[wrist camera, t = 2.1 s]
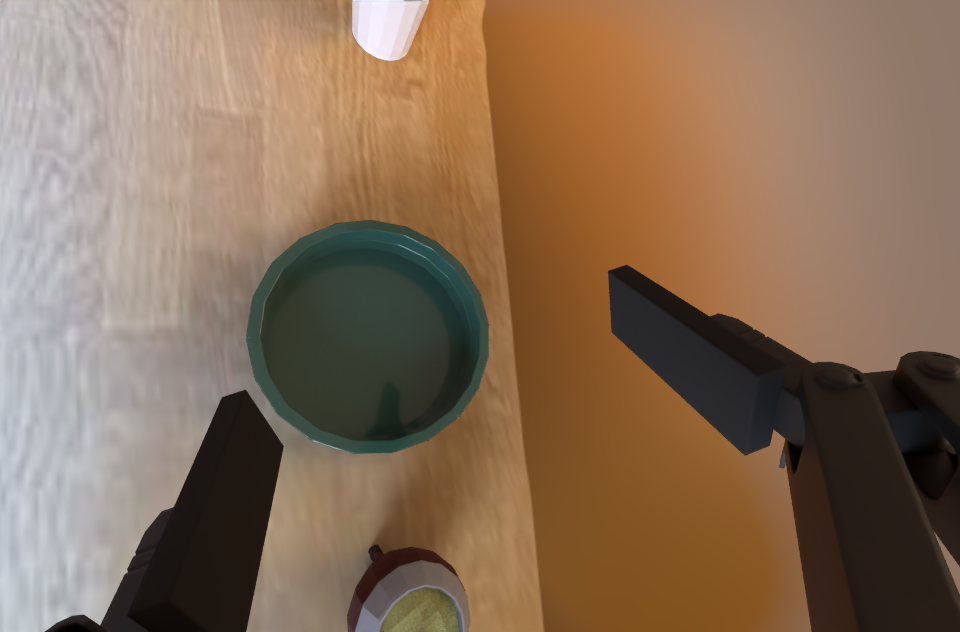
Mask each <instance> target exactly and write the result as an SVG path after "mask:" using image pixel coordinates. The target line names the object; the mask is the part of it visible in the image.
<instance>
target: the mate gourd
mask: <svg viewBox="0 0 960 632" xmlns="http://www.w3.org/2000/svg"><path fill="white" fill-rule="evenodd" d="M368 552H369V554H370V557H371V559H372V561H373V563H372V564H371V565H370V566H369V568H368V569H367V571H366V572H365V574H364V575H363V577H362V579H361V580H360V582H359V583H358V585H357V587H356V589H355V592H354V595H353V598H352V602H351V605H350V608H349V611H348V615H347V623H348V632H468V631H469V626H470V614H469V604H468V597H467V595H466V592H465V589H464V587H463V585H462V583H461V581H460V579H459V577H458V575H457V573H456V571H455V570H454V568H453V567H452V566H451V565H450V564H449V563H448V562H446V561H445V560H444V559H443V558H441V557H440V556H439V555H437V554H436V553H435V552H433V551H430V550H425V549H420V548H414V547H409V548H403V549H398V550H393V551H390V552H387V553H385V554H383V552H382V550H381V549H380V547H379V545H374V546H373V547H372V548H370V549H369V551H368Z"/></svg>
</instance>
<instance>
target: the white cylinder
mask: <svg viewBox="0 0 960 632" xmlns="http://www.w3.org/2000/svg"><path fill="white" fill-rule="evenodd" d="M429 1H430V0H352V33H353V35H354V37H355V39H356V41H357V43H358V44H359V45H360V46H361V47H362V48H363V49H364V50H365V51H366V52H367V53H369V54H371V55H372V56H374V57H376V58H378V59H382V60H387V61H394V60H400V59H401V58H403V57H404V56H406V55H407V53H408V51H409V49H410V47H411V44H412V42H413V39H414V37H415V35H416V32H417V30H418V27H419V25H420V23H421V20H422V18H423V16H424V13H425V11H426V8H427V6H428V4H429Z"/></svg>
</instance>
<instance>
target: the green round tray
mask: <svg viewBox="0 0 960 632" xmlns="http://www.w3.org/2000/svg"><path fill="white" fill-rule="evenodd" d="M246 337H247V338H246V341H247V345H248V350H249V355H250V360H251V364H252V369H253V374H254V378H255V380H256V382H257V383H258V385H259V386H260V388H261V390H262V391H263V393H264V394H265V396H266V397H267V399H268V400H269V402H270V404H271V405H272V407H273V408H274V410H275V411H276V413H277V414H278V415H279V416H280V417H281V418H283V419H284V420H285V421H287V422H288V423H289V424H291V425H292V426H293V427H294V428H296V429H297V430H298V431H300V432H301V433H302V434H304V435H305V436H306V437H308V438H309V439H310V440H312V441H314V442H317V443H321V444H324V445H327V446H330V447H333V448H336V449H339V450H342V451H345V452H348V453H352V454H362V453H394V452H397V451H400V450H403V449H406V448H409V447H411V446H414V445H417V444H420V443H423V442H426V441H429V440H430V439H432V438H433V437H434V436H435V435H437V434H438V433H439V432H441V431H442V430H443V429H445V428H446V427H447V426H449V425H450V424H451V423H452V422H454V421H455V420H456V419H458V417H460V415H461V414H462V412H463V411H464V409H465V408H466V406H467V405H468V404H469V402H470V401H471V399H472V398H473V396H474V395H475V393H476V392H477V391H478V389H479V386H480V383H481V380H482V377H483V374H484V370H485V367H486V364H487V361H488V356H489V324H488V319H487V316H486V313H485V309H484V306H483V302H482V299H481V296H480V293H479V290H478V289H477V287H476V286H475V284H474V282H473V281H472V279H471V278H470V276H469V274H468V273H467V271H466V270H465V268H464V267H463V265H462V264H461V263H460V262H459V261H458V260H457V259H456V258H455V257H453V256H452V255H451V254H450V253H449V252H448V251H447V250H446V249H445V248H443V247H442V246H441V245H440V244H439V243H438V242H436V241H434V240H432V239H430V238H428V237H426V236H424V235H422V234H420V233H418V232H416V231H414V230H412V229H410V228H408V227H405V226H400V225H395V224H389V223H384V222H379V221H374V220H366V221H356V222H345V223H336V224H333V225H331V226H329V227H326V228H324V229H321V230H319V231H317V232H314V233H312V234H309V235H307V236H305V237H302V238H300V239H299V240H298V241H297V242H295V243H294V244H293V245H292V246H291V247H290V248H289V249H287V250H286V251H285V252H284V253H283V254H282V255H280V256H279V257H278V258H277V259H276V260H275V261H274V262H272V264H271V265H270V267H269V269H268V271H267V272H266V274H265V276H264V278H263V279H262V281H261V283H260V285H259V287H258V288H257V290H256V292H255V294H254V295H253V299H252V303H251V309H250V315H249V322H248V328H247V334H246Z"/></svg>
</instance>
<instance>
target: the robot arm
mask: <svg viewBox="0 0 960 632" xmlns="http://www.w3.org/2000/svg"><path fill="white" fill-rule="evenodd" d="M608 276H609V294H610V311H611V328H612V333H613V334H614V335H615V336H616V337H617V338H619V339H620V340H621V341H622V342H623V343H624V344H625V345H626V346H627V347H628V348H630V350H632V351H633V352H634V353H635V354H636V355H637V356H638V357H639V358H640V359H641V360H642V361H643V362H644V363H645V364H647V365H648V366H649V367H650V368H651V369H652V370H653V371H654V372H655V373H656V374H658V376H660V377H661V378H662V379H663V380H664V381H665V382H666V383H667V384H668V385H669V386H670V387H672V389H674V390H675V391H676V392H677V393H678V394H679V395H680V396H681V397H682V398H683V399H684V400H686V402H687V403H689V404H690V405H691V406H692V407H693V408H694V409H695V410H696V411H697V412H698V413H699V414H700V415H702V416H703V417H704V418H705V419H706V420H707V421H708V422H709V423H710V424H711V425H712V426H713V427H714V428H716V429H717V430H718V431H719V432H720V433H721V434H722V435H723V436H724V437H725V438H726V439H727V440H728V441H730V442H731V443H732V444H733V445H734V446H735V447H736V448H737V449H738V450H739V451H740V452H741V453H743V454H744V455H748V454H750V453H753V452H755V451H758V450H760V449H762V448H765V447H767V446H769V445H770V442H771V438H772V433H773V429H774V430H775V431H776V432H778V433H779V434H780V435H782V436H783V437H784V438H785V443H784V447H783V451H782V455H781V460H780V465H779V467H780V468H784V467H785V463H786V466H787V473H788V479H789V486H790V492H791V499H792V506H793V512H794V518H795V525H796V532H797V538H798V545H799V551H800V558H801V564H802V571H803V578H804V584H805V590H806V597H807V604H808V610H809V617H810V623H811V630H812V632H960V594H959V592H958V589H957V587H956V585H955V583H954V580H953V578H952V575H951V573H950V571H949V568H948V565H947V563H946V560H945V558H944V556H943V554H942V551H941V548H940V546H939V543H938V541H937V539H936V536H935V534H934V532H935V533H936V534H937V536H938V537H939V539H940V540H941V541H942V543H943V544H944V545H945V547H946V548H947V550H948V551H949V552H950V554H951V555H952V556H953V558H954V559H955V561H956V562H957V564H958V565H959V566H960V359H959V358H956V357H954V356H951V355H946V354H941V353H937V352H925V351H919V352H912V353H907V354H906V355H904V356H902V357H901V359H900V361H899V364H898V366H897V369H896V370H893V371H882V372H872V373H862V372H860V371H858V370H857V369H855V368H852V367H849V366H846V365H844V364H839V363H833V362H817V363H812V362H810V361H808V360H806V359H805V358H803V357H801V356H800V355H798V354H796V353H794V352H793V351H791V350H790V349H787V348H786V347H784V346H783V345H781V344H779V343H778V342H776V341H774V340H773V339H771V338H769V337H765V335H764V334H762V333H761V332H759V331H757V330H753V328H752V327H750V326H749V325H747V324H745V323H744V322H742V321H740V320H738V319H736V318H733V317H729V316H726V315H723V314H716V315H713V316H708V315H706V314H705V313H703V312H701V311H700V310H698V309H697V308H695V307H693V306H692V305H690V304H689V303H687V302H686V301H684V300H682V299H681V298H679V297H678V296H676V295H674V294H673V293H671V292H670V291H668V290H666V289H665V288H663V287H662V286H660V285H658V284H657V283H655V282H653V281H652V280H650V279H649V278H647V277H646V276H644V275H642V274H641V273H639V272H638V271H636V270H634V269H633V268H631V267H630V266H628V265H625V266H622V267H619V268H616V269H613V270H610V271H608ZM283 447H284V446H283V445H282V443H281V442H280V440H279V439H278V437H277V436H276V434H275V433H274V431H273V430H272V428H271V427H270V425H269V424H268V422H267V421H266V419H265V418H264V416H263V415H262V413H261V412H260V410H259V409H258V407H257V406H256V404H255V403H254V401H253V400H252V398H251V397H250V395H249V394H248V392H247V391H246V390H243V391H240V392H237V393H234V394H231V395H228V396H225V397H222V399H221V401H220V403H219V406H218V408H217V410H216V412H215V415H214V417H213V419H212V422H211V424H210V426H209V428H208V431H207V433H206V435H205V437H204V440H203V442H202V444H201V447H200V449H199V451H198V453H197V456H196V458H195V460H194V463H193V465H192V467H191V469H190V472H189V474H188V476H187V479H186V481H185V483H184V485H183V488H182V490H181V492H180V495H179V497H178V499H177V501H176V504H175V506H174V507H173V508H170V509H167V510H165V511H162V512H161V513H160V514H159V515H158V517H157V518H156V519H155V520H154V522H153V523H152V524H151V525H150V527H149V528H148V529H147V530H146V532H145V533H144V535H143V538H142V540H141V542H140V544H139V546H138V548H137V550H136V552H135V553H136V556H134V557H133V558H132V560H131V563H130V565H129V567H128V569H127V570H128V573H126V574H125V575H124V577H123V579H122V581H121V583H120V586H119V588H118V590H117V592H116V594H115V596H114V598H113V600H112V602H111V604H110V606H109V608H108V611H107V613H106V615H105V617H104V619H103V621H102V623H101V625H98V624H97V623H95V622H94V621H93V620H91V619H90V618H88V617H87V616H85V615H76V616H71V617H69V618H67V619H64V620H62V621H60V622H58V623H56V624H55V625H53V626H52V627H51V628H49V629H48V630H46V631H45V632H246V630H247V625H248V620H249V615H250V610H251V605H252V600H253V595H254V590H255V585H256V580H257V576H258V571H259V566H260V561H261V556H262V551H263V546H264V541H265V536H266V531H267V526H268V521H269V516H270V511H271V506H272V501H273V496H274V492H275V487H276V482H277V477H278V472H279V467H280V462H281V457H282V452H283ZM933 530H934V531H933Z"/></svg>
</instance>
